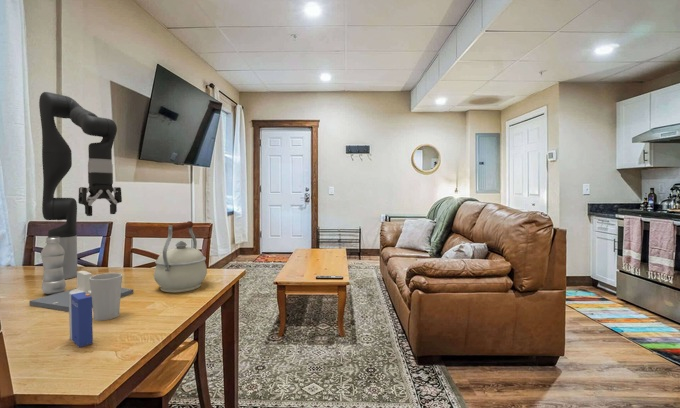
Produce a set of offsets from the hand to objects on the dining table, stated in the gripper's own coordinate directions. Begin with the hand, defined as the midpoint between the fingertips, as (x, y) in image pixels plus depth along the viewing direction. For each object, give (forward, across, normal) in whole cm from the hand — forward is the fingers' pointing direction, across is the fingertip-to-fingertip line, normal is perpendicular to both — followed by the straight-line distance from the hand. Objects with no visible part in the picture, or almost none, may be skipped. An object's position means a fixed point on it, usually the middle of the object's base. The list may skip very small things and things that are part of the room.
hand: (101, 214), depth 126 cm
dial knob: (+26, +12, +10) cm, 30 cm away
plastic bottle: (+28, +12, -8) cm, 31 cm away
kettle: (+28, -14, +26) cm, 40 cm away
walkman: (+27, +32, +40) cm, 58 cm away
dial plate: (+27, +11, +8) cm, 31 cm away
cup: (+27, +18, +30) cm, 45 cm away
